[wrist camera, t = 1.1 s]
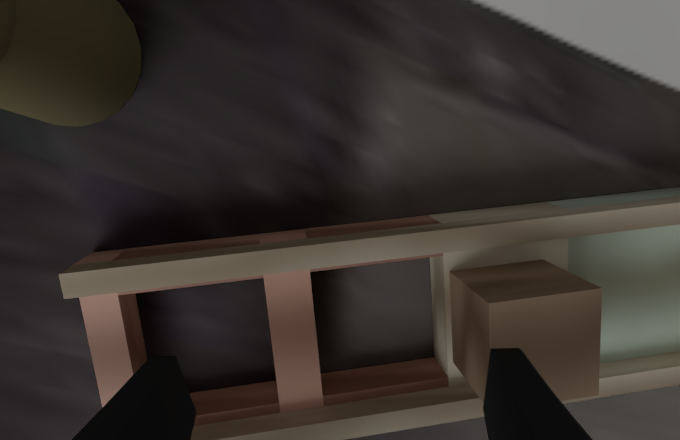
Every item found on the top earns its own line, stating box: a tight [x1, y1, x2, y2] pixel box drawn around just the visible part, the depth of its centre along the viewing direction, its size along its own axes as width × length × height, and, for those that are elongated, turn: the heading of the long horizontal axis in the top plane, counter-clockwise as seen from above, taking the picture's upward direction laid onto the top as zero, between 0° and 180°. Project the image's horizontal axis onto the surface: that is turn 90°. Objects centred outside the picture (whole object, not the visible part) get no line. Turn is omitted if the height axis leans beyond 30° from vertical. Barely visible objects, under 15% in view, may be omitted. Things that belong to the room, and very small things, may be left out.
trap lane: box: [59, 187, 680, 440], centre depth 21 cm, size 9×30×4 cm, turn 95°
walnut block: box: [449, 259, 602, 403], centre depth 19 cm, size 4×4×4 cm
